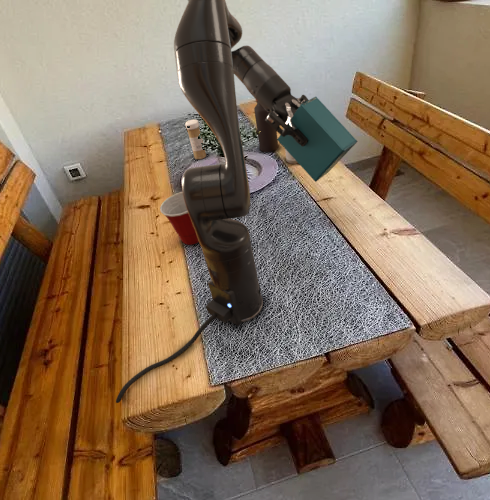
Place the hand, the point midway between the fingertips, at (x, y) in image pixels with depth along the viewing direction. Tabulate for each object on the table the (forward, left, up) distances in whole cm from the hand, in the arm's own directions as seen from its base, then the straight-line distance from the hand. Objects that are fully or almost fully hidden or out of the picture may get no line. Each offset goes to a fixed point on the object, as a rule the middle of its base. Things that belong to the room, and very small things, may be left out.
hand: (313, 138), depth 91 cm
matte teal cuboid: (0, +3, -5) cm, 6 cm away
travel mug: (+24, +24, -22) cm, 41 cm away
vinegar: (+27, +38, -22) cm, 52 cm away
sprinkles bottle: (+11, +58, -23) cm, 64 cm away
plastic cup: (-25, +24, -23) cm, 41 cm away
